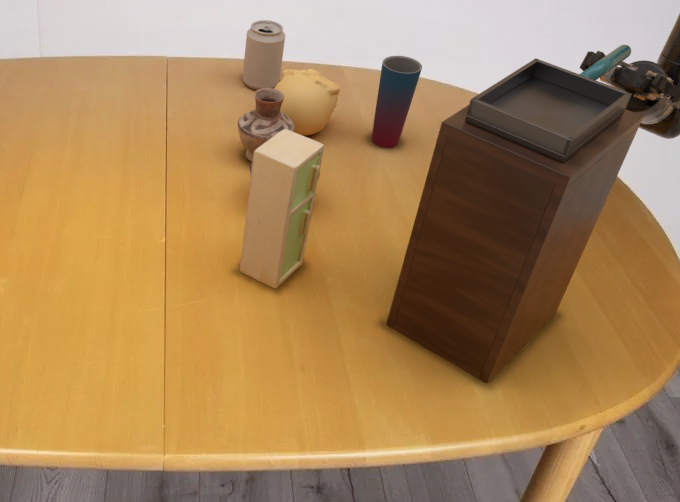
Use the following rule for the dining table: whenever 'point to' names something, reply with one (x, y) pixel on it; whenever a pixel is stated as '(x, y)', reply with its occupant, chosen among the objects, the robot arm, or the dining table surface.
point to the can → (263, 54)
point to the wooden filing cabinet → (499, 240)
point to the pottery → (263, 121)
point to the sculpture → (307, 99)
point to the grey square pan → (551, 105)
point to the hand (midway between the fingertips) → (625, 69)
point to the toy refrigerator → (280, 206)
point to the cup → (394, 99)
